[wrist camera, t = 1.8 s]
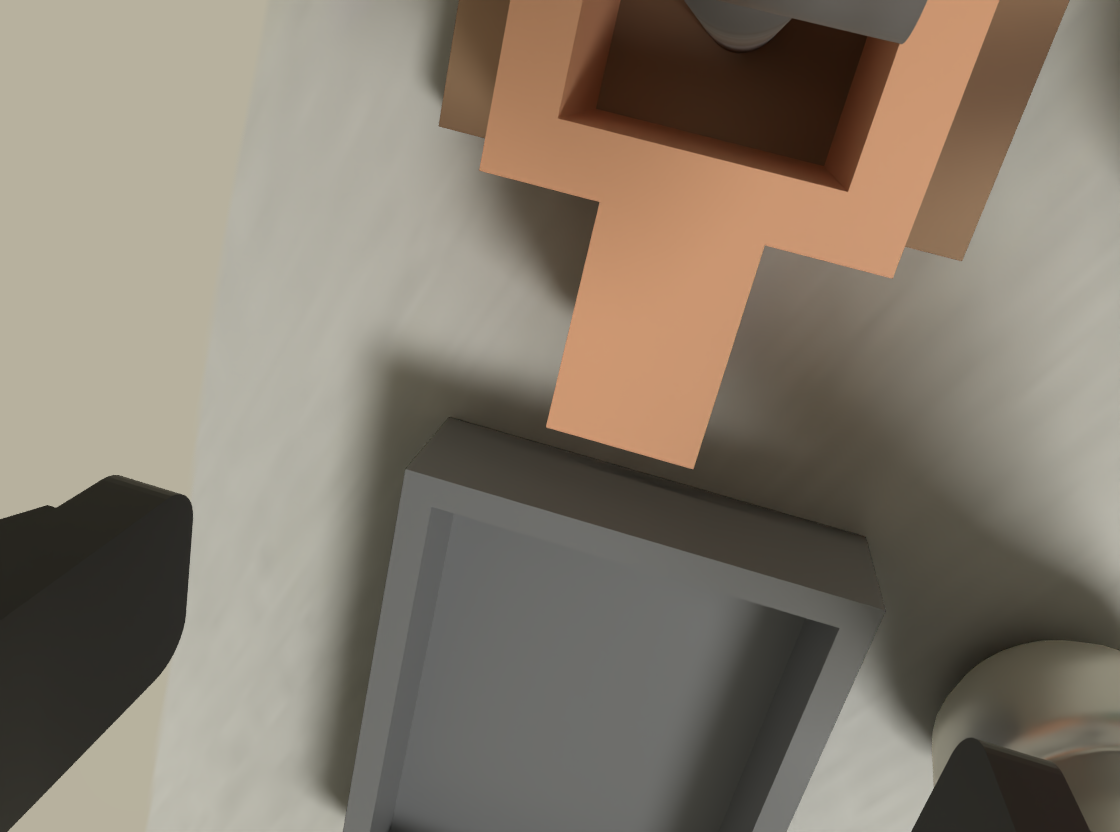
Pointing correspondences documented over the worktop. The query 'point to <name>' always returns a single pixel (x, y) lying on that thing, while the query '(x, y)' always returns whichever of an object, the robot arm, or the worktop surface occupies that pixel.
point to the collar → (706, 207)
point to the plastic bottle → (1045, 717)
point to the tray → (600, 649)
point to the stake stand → (783, 82)
